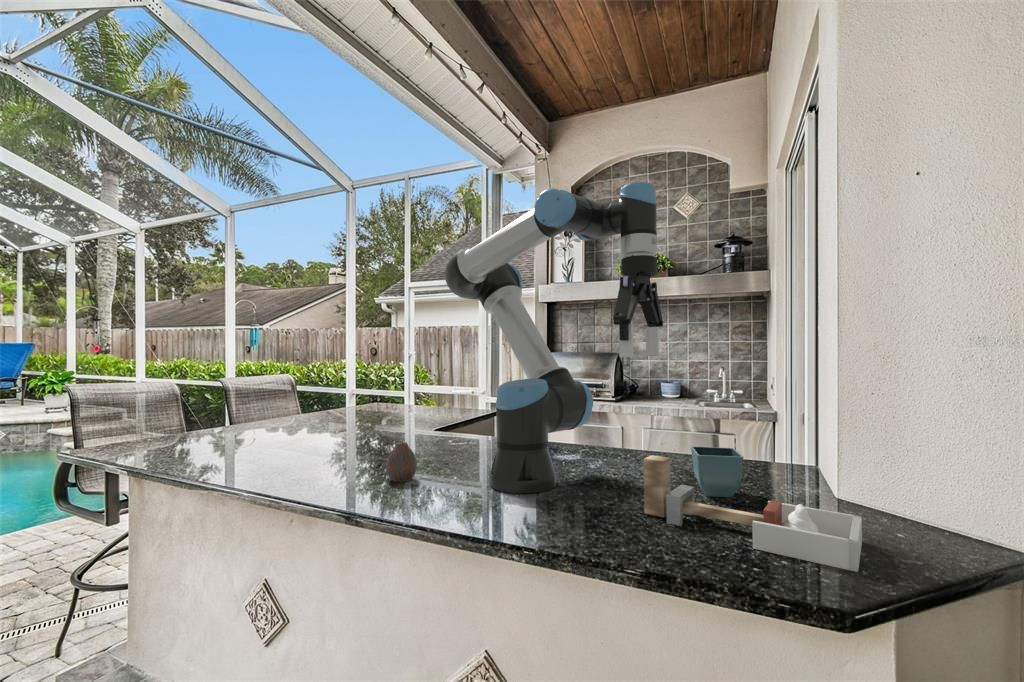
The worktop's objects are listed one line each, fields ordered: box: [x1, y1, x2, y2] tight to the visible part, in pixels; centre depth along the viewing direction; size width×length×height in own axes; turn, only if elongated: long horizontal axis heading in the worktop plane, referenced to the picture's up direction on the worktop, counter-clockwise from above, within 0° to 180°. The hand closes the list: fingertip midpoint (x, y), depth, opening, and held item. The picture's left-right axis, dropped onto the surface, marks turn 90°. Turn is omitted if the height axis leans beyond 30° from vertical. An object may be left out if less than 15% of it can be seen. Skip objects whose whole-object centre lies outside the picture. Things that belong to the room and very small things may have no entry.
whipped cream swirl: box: [782, 503, 820, 533], centre depth 75 cm, size 6×6×5 cm
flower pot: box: [690, 446, 744, 498], centre depth 101 cm, size 9×9×9 cm
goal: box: [751, 500, 863, 573], centre depth 74 cm, size 13×13×4 cm
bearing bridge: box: [666, 484, 695, 527], centre depth 86 cm, size 2×8×5 cm, turn 142°
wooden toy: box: [643, 454, 783, 527], centre depth 83 cm, size 22×6×10 cm, turn 52°
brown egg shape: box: [386, 441, 418, 483], centre depth 114 cm, size 7×7×9 cm
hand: (640, 356), depth 103 cm, fingers open, 13 cm apart
